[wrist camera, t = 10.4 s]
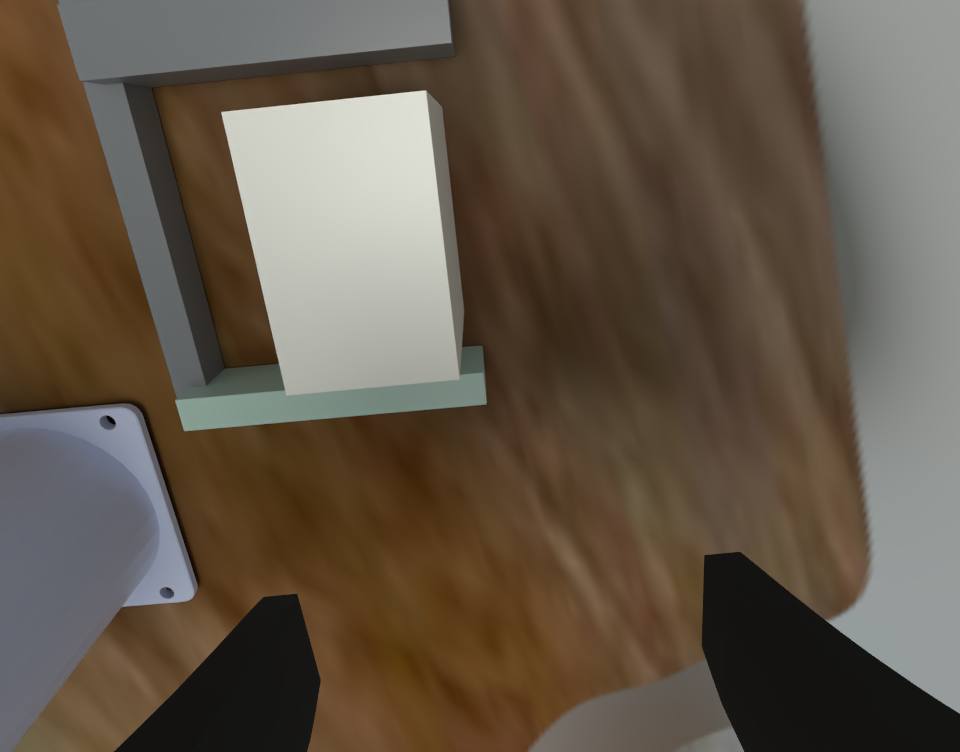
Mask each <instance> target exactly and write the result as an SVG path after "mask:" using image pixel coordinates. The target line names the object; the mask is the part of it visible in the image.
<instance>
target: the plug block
mask: <svg viewBox="0 0 960 752" xmlns="http://www.w3.org/2000/svg"><path fill="white" fill-rule="evenodd" d="M221 113H222V118H223V122H224V126H225V131H226V135H227V139H228V144H229V148H230V152H231V157H232V161H233V165H234V170H235V174H236V178H237V183H238V187H239V191H240V196H241V200H242V205H243V209H244V213H245V218H246V222H247V226H248V231H249V235H250V239H251V244H252V248H253V252H254V257H255V261H256V265H257V270H258V274H259V278H260V283H261V287H262V291H263V296H264V300H265V305H266V309H267V313H268V318H269V322H270V326H271V331H272V335H273V339H274V344H275V348H276V352H277V357H278V361H279V365H280V370H281V374H282V378H283V383H284V387H285V391H286V396H287V395H298V394H309V393H320V392H331V391H341V390H352V389H363V388H374V387H385V386H396V385H407V384H417V383H428V382H439V381H450V380H460V368H461V353H462V338H463V323H464V304H463V295H462V286H461V276H460V267H459V258H458V249H457V240H456V230H455V221H454V212H453V203H452V194H451V184H450V175H449V166H448V157H447V148H446V139H445V129H444V120H443V111H442V106H441V105H440V104H439V103H438V102H437V101H436V100H435V99H434V98H433V97H432V96H431V95H430V94H429V93H428V92H427V91H426V90H425V91H415V92H406V93H397V94H387V95H378V96H368V97H359V98H349V99H340V100H331V101H321V102H312V103H302V104H293V105H283V106H274V107H264V108H255V109H246V110H236V111H227V112H221Z"/></svg>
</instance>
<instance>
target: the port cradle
mask: <svg viewBox="0 0 960 752" xmlns="http://www.w3.org/2000/svg"><path fill="white" fill-rule="evenodd" d="M59 3H60V4H59V5H57V7H58V10H59V13H60V17H61V20H62V23H63V27H64V30H65V33H66V37H67V40H68V43H69V47H70V50H71V54H72V57H73V60H74V64H75V67H76V70H77V74H78V77H79V80H80V81H82V82H83V84H84V87H85V91H86V94H87V97H88V101H89V104H90V108H91V111H92V114H93V118H94V121H95V124H96V128H97V131H98V135H99V138H100V141H101V145H102V148H103V151H104V155H105V158H106V161H107V165H108V168H109V172H110V175H111V178H112V182H113V185H114V188H115V192H116V195H117V199H118V202H119V205H120V209H121V212H122V215H123V219H124V222H125V225H126V229H127V232H128V236H129V239H130V242H131V246H132V249H133V252H134V256H135V259H136V262H137V266H138V269H139V273H140V276H141V279H142V283H143V286H144V289H145V293H146V296H147V300H148V303H149V306H150V310H151V313H152V316H153V320H154V323H155V326H156V330H157V333H158V337H159V340H160V343H161V347H162V350H163V353H164V357H165V360H166V363H167V367H168V370H169V374H170V377H171V380H172V384H173V387H174V390H175V394H176V397H177V399H176V400H175V402H176V405H177V409H178V412H179V415H180V419H181V422H182V425H183V429H184V431H191V430H202V429H213V428H225V427H236V426H247V425H259V424H270V423H281V422H293V421H304V420H315V419H327V418H338V417H349V416H361V415H372V414H383V413H395V412H406V411H417V410H429V409H440V408H451V407H463V406H474V405H485V404H487V402H486V381H485V367H484V356H483V346H482V345H480V346H469V347H462V353H461V368H460V380H450V381H439V382H428V383H417V384H407V385H396V386H385V387H374V388H363V389H352V390H341V391H331V392H320V393H309V394H298V395H287V396H286V391H285V387H284V383H283V378H282V374H281V370H280V365H279V364H271V365H260V366H249V367H238V368H227V369H225V367H224V363H223V359H222V355H221V352H220V348H219V344H218V340H217V336H216V332H215V329H214V325H213V321H212V317H211V313H210V309H209V306H208V302H207V298H206V294H205V290H204V286H203V283H202V279H201V275H200V271H199V267H198V263H197V260H196V256H195V252H194V248H193V244H192V240H191V237H190V233H189V229H188V225H187V221H186V217H185V214H184V210H183V206H182V202H181V198H180V194H179V191H178V187H177V183H176V179H175V175H174V171H173V168H172V164H171V160H170V156H169V152H168V148H167V145H166V141H165V137H164V133H163V129H162V125H161V122H160V118H159V114H158V110H157V106H156V102H155V99H154V95H153V91H152V88H153V87H163V86H173V85H183V84H192V83H202V82H212V81H222V80H231V79H241V78H251V77H261V76H270V75H280V74H290V73H300V72H309V71H319V70H329V69H339V68H348V67H358V66H368V65H378V64H387V63H397V62H407V61H416V60H426V59H436V58H446V57H455V53H454V43H453V32H452V22H451V11H450V1H449V0H59Z"/></svg>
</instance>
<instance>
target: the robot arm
mask: <svg viewBox="0 0 960 752" xmlns="http://www.w3.org/2000/svg"><path fill="white" fill-rule="evenodd" d="M106 416H110V417H112V418H113V419H114V420H115V422H116V425H114V424H111V423H110V422H109V421H108V420H107V417H106ZM166 587H168V588H170V589H172V590H173V591H169V590H168V589H166ZM197 589H198V585H197V581H196V578H195V575H194V572H193V569H192V566H191V563H190V560H189V557H188V554H187V550H186V547H185V544H184V541H183V538H182V535H181V532H180V529H179V526H178V523H177V519H176V516H175V513H174V510H173V507H172V504H171V501H170V498H169V495H168V492H167V488H166V485H165V482H164V479H163V476H162V473H161V470H160V467H159V464H158V461H157V457H156V454H155V451H154V448H153V445H152V442H151V439H150V436H149V433H148V430H147V426H146V423H145V420H144V417H143V415H142V413H141V411H140V410H139V409H138V408H137V407H136V406H134V405H131V404H126V403H121V404H110V405H99V406H88V407H77V408H66V409H54V410H43V411H32V412H21V413H10V414H0V752H12V751H13V750H14V749H15V747H16V746H17V745H18V743H19V742H20V741H21V739H22V738H23V737H24V735H25V734H26V733H27V731H28V730H29V729H30V727H31V726H32V725H33V723H34V722H35V721H36V719H37V718H38V717H39V716H40V714H41V713H42V712H43V710H44V709H45V708H46V706H47V705H48V704H49V702H50V701H51V700H52V698H53V697H54V696H55V694H56V693H57V692H58V690H59V689H60V688H61V686H62V685H63V684H64V683H65V681H66V680H67V679H68V677H69V676H70V675H71V673H72V672H73V671H74V669H75V668H76V667H77V665H78V664H79V663H80V661H81V660H82V659H83V657H84V656H85V655H86V653H87V652H88V651H89V649H90V648H91V647H92V646H93V644H94V643H95V642H96V640H97V639H98V638H99V636H100V635H101V634H102V632H103V631H104V630H105V628H106V627H107V626H108V624H109V623H110V622H111V620H112V619H113V618H114V616H115V615H116V614H117V613H118V611H119V610H120V609H121V607H125V606H138V605H150V604H162V603H175V602H185V601H189V600H190V599H192V598H193V596H194V595H195V593H196V591H197ZM702 648H703V651H704V654H705V657H706V660H707V663H708V665H709V669H710V671H711V674H712V677H713V680H714V683H715V686H716V688H717V691H718V694H719V697H720V700H721V702H722V705H723V707H724V709H725V711H726V714H727V716H728V718H729V720H730V722H731V724H732V726H733V729H734V731H735V733H736V735H737V737H738V739H739V741H740V743H741V745H742V747H743V750H744V752H960V714H959V713H958V712H956V711H954V710H953V709H951V708H950V707H948V706H946V705H945V704H943V703H942V702H940V701H938V700H937V699H935V698H934V697H932V696H931V695H929V694H928V693H926V692H925V691H923V690H922V689H920V688H919V687H917V686H916V685H914V684H913V683H911V682H910V681H908V680H907V679H906V678H904V677H903V676H901V675H900V674H898V673H897V672H895V671H894V670H892V669H891V668H889V667H888V666H887V665H885V664H884V663H882V662H881V661H879V660H878V659H877V658H875V657H874V656H872V655H871V654H870V653H868V652H867V651H866V650H864V649H863V648H861V647H860V646H859V645H857V644H856V643H855V642H853V641H852V640H851V639H849V638H848V637H846V636H845V635H844V634H842V633H841V632H840V631H839V630H837V629H836V628H835V627H833V626H832V625H831V624H829V623H828V622H827V621H825V620H824V619H823V618H822V617H820V616H819V615H818V614H816V613H815V612H814V611H813V610H811V609H810V608H809V607H808V606H806V605H805V604H804V603H802V602H801V601H800V600H799V599H797V598H796V597H795V596H794V595H793V594H791V593H790V592H789V591H788V590H786V589H785V588H784V587H783V586H781V585H780V584H779V583H778V582H776V581H775V580H774V579H773V578H772V577H770V576H769V575H768V574H767V573H765V572H764V571H763V570H762V569H761V568H759V567H758V566H757V565H756V564H754V563H753V562H752V561H751V560H749V559H748V558H747V557H746V556H744V555H743V554H742V553H741V552H734V553H723V554H713V555H704V590H703V624H702ZM320 681H321V680H320V676H319V672H318V669H317V665H316V661H315V658H314V654H313V650H312V647H311V643H310V639H309V636H308V632H307V628H306V625H305V621H304V617H303V614H302V610H301V606H300V603H299V599H298V595H297V594H291V595H281V596H270V597H263V598H262V599H261V600H260V601H259V602H258V603H257V604H256V605H255V606H254V608H253V609H252V610H251V611H250V612H249V613H248V614H247V615H246V616H245V617H244V618H243V619H242V620H241V622H240V623H239V624H238V625H237V626H236V627H235V628H234V629H233V630H232V631H231V632H230V634H229V635H228V636H227V637H226V638H225V639H224V640H223V641H222V642H221V643H220V644H219V645H218V647H217V648H216V649H215V650H214V651H213V652H212V653H211V654H210V655H209V656H208V657H207V658H206V659H205V661H204V662H203V663H202V664H201V665H200V666H199V667H198V668H197V669H196V670H195V671H194V672H193V673H192V674H191V675H190V676H189V677H188V679H187V680H186V681H185V682H184V683H183V684H182V685H181V686H180V687H179V688H178V689H177V690H176V691H175V692H174V693H173V694H172V695H171V696H170V697H169V698H168V699H167V700H166V701H165V702H164V703H163V704H162V705H161V706H160V707H159V708H158V709H157V710H156V711H155V712H154V713H153V714H152V715H151V716H150V717H149V718H148V719H147V720H146V721H145V722H144V723H143V724H142V725H141V726H140V727H139V728H138V729H137V730H136V731H135V732H134V733H133V734H132V735H131V736H130V737H129V738H128V739H127V740H126V741H125V742H124V743H122V744H121V745H120V746H119V747H118V748H117V749H116V750H115V751H114V752H307V750H308V746H309V743H310V738H311V733H312V728H313V722H314V717H315V712H316V706H317V699H318V693H319V687H320Z"/></svg>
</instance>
